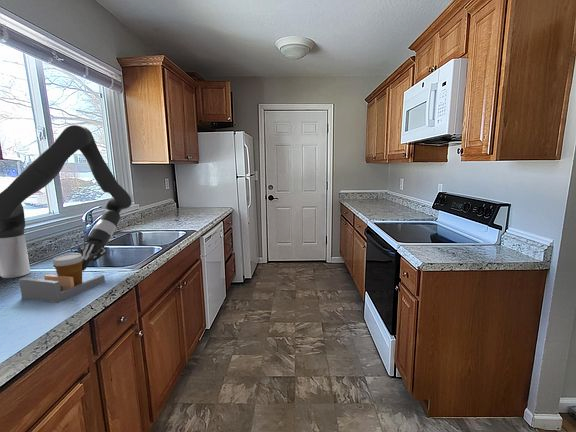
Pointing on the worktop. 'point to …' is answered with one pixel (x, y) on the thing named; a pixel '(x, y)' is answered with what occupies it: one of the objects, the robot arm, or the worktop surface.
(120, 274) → the worktop surface
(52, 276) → the pusher plate
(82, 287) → the grey shallow tray
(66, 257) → the disposable coffee cup
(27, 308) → the worktop surface
